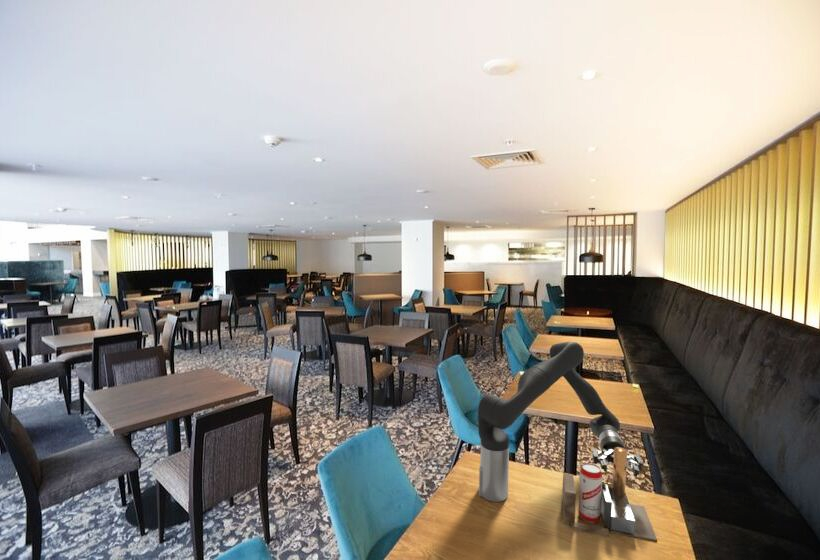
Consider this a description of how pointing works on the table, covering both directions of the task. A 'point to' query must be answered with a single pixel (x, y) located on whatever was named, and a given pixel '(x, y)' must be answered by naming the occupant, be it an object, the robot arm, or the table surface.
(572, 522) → the vise frame
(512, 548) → the table surface
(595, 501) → the beer can
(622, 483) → the cylinder
